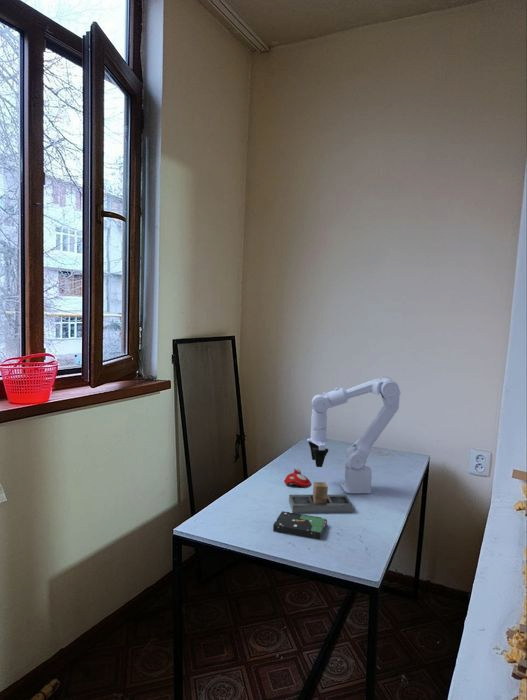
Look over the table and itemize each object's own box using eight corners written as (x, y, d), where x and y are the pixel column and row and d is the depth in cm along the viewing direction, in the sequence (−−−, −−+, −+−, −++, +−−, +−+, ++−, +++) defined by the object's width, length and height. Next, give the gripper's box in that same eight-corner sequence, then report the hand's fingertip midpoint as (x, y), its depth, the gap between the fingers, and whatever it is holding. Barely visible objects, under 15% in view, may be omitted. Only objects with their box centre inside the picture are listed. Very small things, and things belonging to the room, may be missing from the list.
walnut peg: (324, 504, 167) (325, 482, 166) (326, 509, 163) (327, 486, 162) (312, 504, 166) (313, 482, 165) (314, 509, 162) (315, 486, 161)
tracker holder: (316, 483, 183) (294, 481, 178) (312, 494, 184) (290, 492, 179) (300, 465, 194) (279, 463, 188) (296, 475, 194) (275, 473, 189)
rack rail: (345, 501, 170) (345, 494, 169) (352, 512, 161) (352, 505, 161) (288, 501, 168) (289, 494, 168) (292, 513, 159) (293, 505, 159)
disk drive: (272, 533, 146) (321, 541, 142) (272, 524, 146) (321, 532, 141) (281, 519, 156) (327, 525, 152) (281, 510, 155) (327, 517, 151)
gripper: (304, 422, 186) (303, 456, 187) (311, 432, 171) (310, 470, 173) (322, 422, 186) (321, 456, 188) (331, 433, 172) (329, 470, 173)
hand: (317, 463), depth 180 cm, fingers open, 7 cm apart
